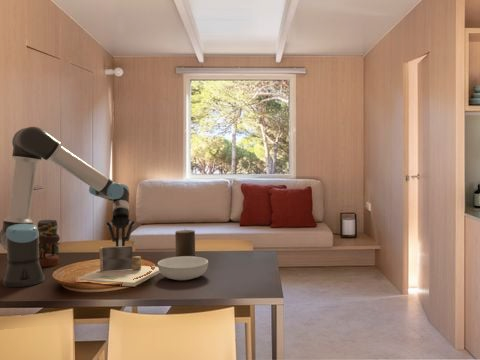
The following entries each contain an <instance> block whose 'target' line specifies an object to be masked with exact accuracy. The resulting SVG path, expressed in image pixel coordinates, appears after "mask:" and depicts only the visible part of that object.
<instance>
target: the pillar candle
mask: <svg viewBox="0 0 480 360" xmlns="http://www.w3.org/2000/svg"><path fill="white" fill-rule="evenodd" d="M181 256H194V257H196V232H195V230H194V229H183V230H181V229H180V230H175V257H181Z"/></svg>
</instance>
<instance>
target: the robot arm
mask: <svg viewBox="0 0 480 360" xmlns="http://www.w3.org/2000/svg"><path fill="white" fill-rule="evenodd" d="M11 145H12V148H13V149H12V155H11V156H12V158H13V160H14V161H15V163H14V169H13V177H12V184H11V192H10V198H9V199H10V200H9V207H8V213H7V217H5V218H4V219H3V220H2V221H3V222H2V228H1V230H0V246H1V247H2V248H3V249H4V250H5V251H7V252H6V253H7V267H6V271H5V275H4V278H3V286H5V287H7V288H21V287H29V286H34V285H39V284H40V283H42V282H45V273H44V272H43V270H42V267H41V266H40V263H39V245H38V243H39V231H38V226H37V225H35V224H34V221H33V220H32V219H31V210H32V204H33V197H34V187H35V181H36V174H37V167H38V164H39V163H40V162H42V159H43V160H45V161H51V162H52V163H54V164H55V165H57V166H58V167H60V168H62V169H63V170H65V171H66V172H68V173H69V174H70V175H73V176H74V177H75V178H76V179H79V180H80V181H81V182H83V183H84V184H86V185H88V186H89V188H88V193H90V195H93V196H95V197H99V198H101V199H104V200H107V201H111V202H112V219H111V221H110V222H106V228H107V229H108V231H109V234H110V237H111V241H112V243H115V247H117V246H126V242H129V241H130V238H131V234H132V231H133V229H134V227H135V225H136V224H135V221H134V220H133V221H131V219H130V190H129V186H128V185H126V184H125V183H118V182H115V181H113V180H112V179H110V178H108V176H106V175H105V174H103V173H102V172H100V171H99V170H98V169H96V168H94V166H91V165H90V164H88V163H87V162H86V161H84V160H83V159H81V158H80V157H78V156H77V155H76V154H74V153H72V151H69V150H68V149H66V148H65V147H63V146H62V144H61V141H59V140H57V139H56V138H55V137H54V136H52V135H50V133H48V132H47V131H45V130H44V129H42V128H40V127H38V126H28V127H24V128H21V129H19V130H18V131H17V132H16V133H15V134H14V135H13V137H12V144H11ZM128 225H129V226H128ZM127 226H128V229H127V232H126V228H127ZM113 227H114V228H115V235H114V230H113ZM120 229H121V239H120Z"/></svg>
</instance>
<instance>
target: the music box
mask: <svg viewBox="0 0 480 360" xmlns="http://www.w3.org/2000/svg"><path fill="white" fill-rule="evenodd" d="M51 227H52V224H50V223H49V224H47V225H44V226H42V227H40V228H39V229H38V228H37V229H38V233H39V232H40V231H42V235H40V236H39V235H38V245H39V246H43V248H42V249H41V252H40V251H39V263H40V266H41V268H42V267H43V268H44V267H45V268H47V267H55V266H58V265H59V264H60V256H59V255H58V254H54V249H56V248H57V249H58V248H59V245H60V239H61V237H60V235H59V233H57V234H52V232H50V233H49V232H47V234H43V231H47V230H48V229H50V230H51ZM39 242H40V243H41V244H39ZM57 242H58V243H57ZM55 243H57V244H58V246H57V244H55ZM46 244H47V249H46ZM49 244H50V245H49ZM51 245H52V248H51ZM54 246H55V247H54ZM51 249H52V254H46V253H47V252H46V250H47V251H48V252H51Z"/></svg>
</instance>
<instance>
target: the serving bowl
mask: <svg viewBox="0 0 480 360" xmlns="http://www.w3.org/2000/svg"><path fill="white" fill-rule="evenodd" d="M157 267H158V268H159V271H160V273H159V274H161V275H162V276H164V277H165V278H167V279H171V280H173V281H174V280H175V281H188V280H193V279H195V278H199V277H200V276H202V275H203V274H205V272H206V271H207V269H208V267H209V260H208V259H207V258H204V257H200V256H195V257H194V256H181V257H176V256H172V257H166V258H163V259H161V260H159V261H158V262H157Z"/></svg>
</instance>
